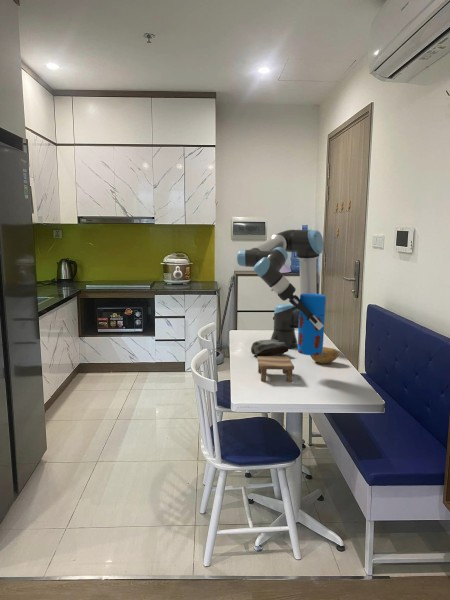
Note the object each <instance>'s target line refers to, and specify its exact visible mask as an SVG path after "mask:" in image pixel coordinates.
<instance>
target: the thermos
mask: <svg viewBox="0 0 450 600" xmlns="http://www.w3.org/2000/svg"><path fill="white" fill-rule="evenodd" d="M299 299H300V300H301V301H302V303H303V305H304V306H305V307H306V308H307V309H308V310H309V311H310V312H311V313H312V314H313V315H314V316H315V317H316V318H317V319H318V320H319V321H320V322H321V323H322V324H323V327H322V328H321V329H320V330H318V329H317V328H316V327H315V326H314V324H313V323H312V322H311V321H310V320H307V317H306V316H305V315H304V313H303V312H302V311H301V310H300V309H299V325H298V328H297V329H298V330H297V331H298V332H297V353H298V354H302V355H305V356H310V355H320V354H322V349H323V347H324V336H325V335H324V332H325V319H326V302H327V300H326V295H324V294H321V293H320V294H319V293H317V294H312V293H306V294H301V295H300V294H299ZM309 315H310V314H309ZM309 315H308V316H309Z"/></svg>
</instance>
